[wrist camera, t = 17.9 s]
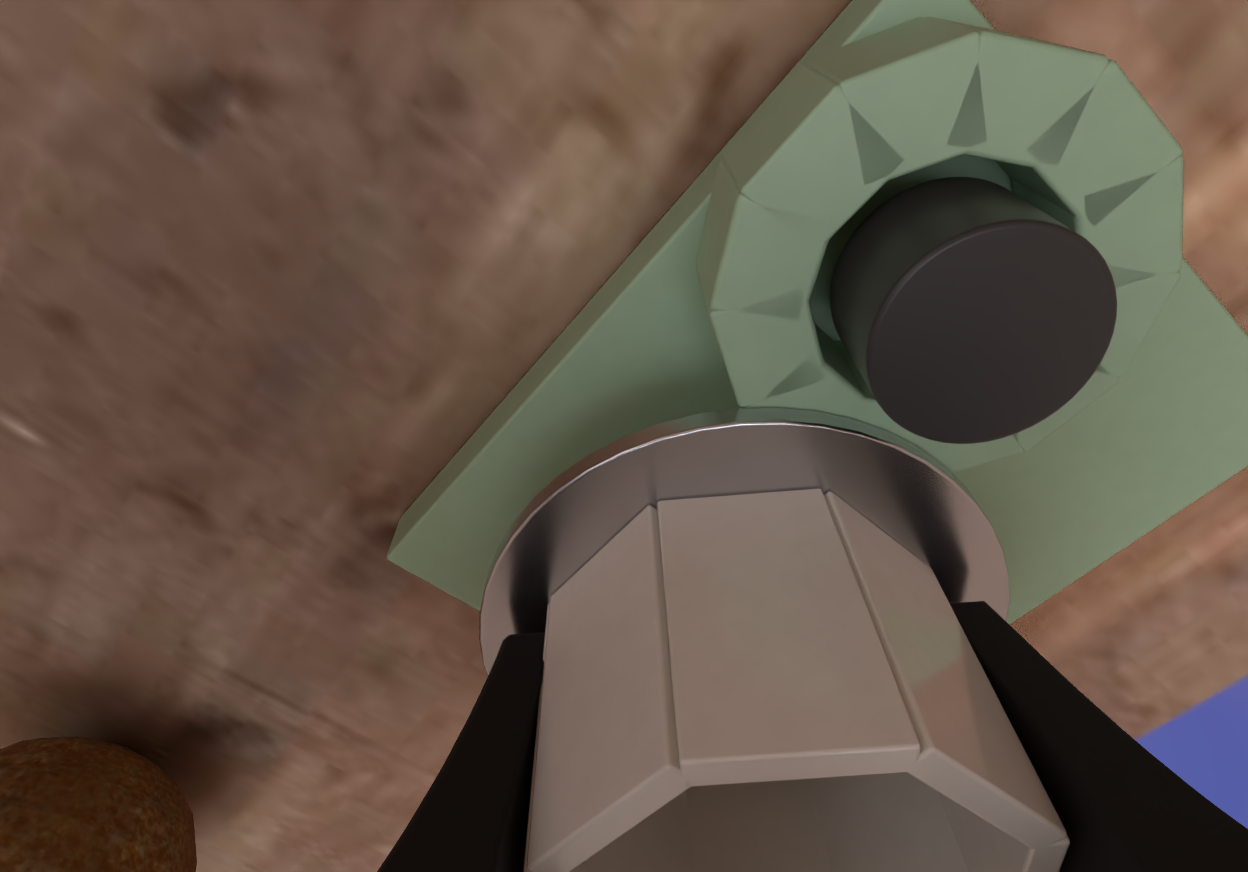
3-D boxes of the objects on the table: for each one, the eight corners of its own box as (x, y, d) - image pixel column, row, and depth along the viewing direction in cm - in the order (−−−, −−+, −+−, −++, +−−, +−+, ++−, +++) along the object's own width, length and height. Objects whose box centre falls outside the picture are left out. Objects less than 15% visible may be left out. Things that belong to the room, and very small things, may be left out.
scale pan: (740, 834, 15) (743, 854, 15) (382, 652, 13) (376, 671, 12) (1103, 599, 12) (1118, 619, 12) (735, 287, 9) (740, 300, 9)
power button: (917, 409, 11) (965, 484, 9) (784, 295, 10) (817, 356, 8) (1083, 269, 10) (1169, 328, 8) (954, 126, 9) (1023, 164, 7)
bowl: (578, 767, 14) (567, 1042, 10) (530, 508, 11) (493, 776, 7) (905, 745, 13) (1006, 1018, 10) (950, 476, 10) (1115, 733, 7)
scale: (769, 733, 18) (794, 860, 16) (387, 511, 15) (342, 628, 12) (1280, 375, 14) (1434, 475, 11) (899, -86, 10) (999, -96, 7)
